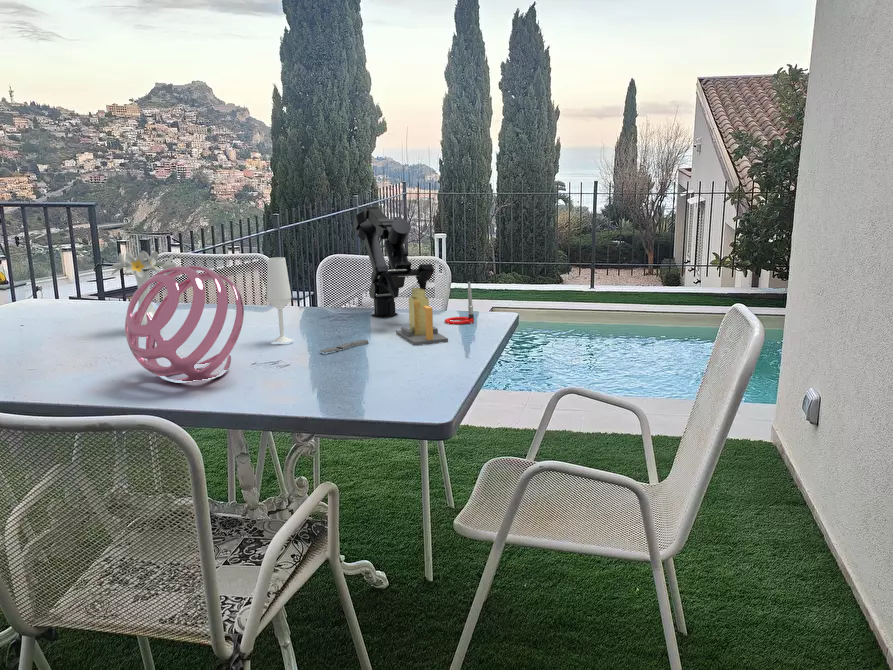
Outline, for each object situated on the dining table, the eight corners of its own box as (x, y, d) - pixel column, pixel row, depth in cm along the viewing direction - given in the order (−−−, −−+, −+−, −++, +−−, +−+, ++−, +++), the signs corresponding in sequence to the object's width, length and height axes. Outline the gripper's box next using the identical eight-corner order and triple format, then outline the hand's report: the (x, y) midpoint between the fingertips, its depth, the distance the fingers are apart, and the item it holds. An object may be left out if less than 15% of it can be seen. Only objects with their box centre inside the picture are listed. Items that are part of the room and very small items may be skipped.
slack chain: (318, 353, 191) (318, 350, 191) (359, 341, 204) (359, 338, 204) (328, 355, 189) (328, 352, 189) (369, 343, 202) (369, 340, 201)
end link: (409, 332, 209) (408, 288, 206) (424, 331, 211) (423, 287, 208) (414, 335, 205) (413, 290, 202) (429, 334, 207) (428, 289, 204)
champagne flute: (265, 343, 203) (258, 259, 198) (281, 338, 209) (275, 256, 204) (284, 346, 200) (277, 260, 195) (299, 340, 206) (293, 257, 201)
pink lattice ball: (226, 281, 190) (147, 230, 167) (294, 317, 175) (217, 267, 152) (168, 372, 186) (79, 332, 164) (231, 418, 171) (143, 381, 148)
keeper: (396, 333, 212) (395, 300, 210) (427, 330, 216) (427, 297, 214) (414, 345, 198) (413, 310, 196) (448, 341, 202) (447, 306, 199)
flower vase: (188, 329, 224) (180, 248, 219) (132, 340, 210) (121, 255, 205) (165, 324, 232) (157, 246, 227) (110, 334, 218) (99, 252, 213)
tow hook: (444, 326, 223) (473, 324, 223) (441, 285, 221) (471, 283, 220) (445, 320, 232) (474, 319, 231) (442, 281, 229) (471, 279, 228)
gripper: (417, 269, 231) (430, 309, 224) (361, 271, 223) (373, 313, 216) (427, 247, 222) (441, 288, 215) (370, 249, 214) (382, 292, 207)
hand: (409, 296), depth 214 cm, fingers open, 9 cm apart
